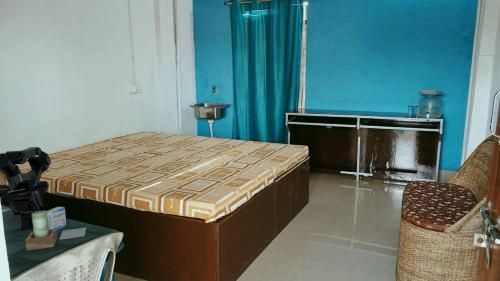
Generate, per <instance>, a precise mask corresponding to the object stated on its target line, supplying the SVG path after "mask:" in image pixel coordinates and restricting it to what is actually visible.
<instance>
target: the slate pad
mask: <svg viewBox="0 0 500 281" xmlns="http://www.w3.org/2000/svg"><path fill="white" fill-rule="evenodd" d="M86 231H87V227H81V228H80V227H79V228H72V229H65V230H62V232H61V234H60V235H59V236H60V237H59V240H66V239H73V238H74V239H75V238H80V237H85V235H86V233H87V232H86Z"/></svg>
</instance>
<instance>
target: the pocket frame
mask: <svg viewBox="0 0 500 281" xmlns="http://www.w3.org/2000/svg"><path fill="white" fill-rule="evenodd" d="M57 240H58V231H57V229H50V230H49V236H45V237H37V238H34V231H31V232H30V233H29V234H28V235H27V237H26V239H25V240H24V241H25V248H26V251H34V250H40V249H47V248H54V246H55V244H56V242H57Z"/></svg>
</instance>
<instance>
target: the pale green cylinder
mask: <svg viewBox="0 0 500 281" xmlns="http://www.w3.org/2000/svg"><path fill="white" fill-rule="evenodd" d="M47 211H48V210H39V211H37V212H34V213H32V221H33V228H32V230H33V231H32V232H34V238H37V237H45V236H49V227H48V218H47Z"/></svg>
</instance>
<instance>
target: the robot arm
mask: <svg viewBox="0 0 500 281" xmlns="http://www.w3.org/2000/svg"><path fill="white" fill-rule="evenodd" d="M27 162H28V165H29V167H30V168H31V169H30V171H28V172H22V171H21V169H20V167H19V165H24V164H26V163H27ZM51 164H52V160H51V158H50V155H49V154H48V153H47V152H45V151H43V150H42V149H41V147H38V146H34V147H33V146H32V147H31V146H30V147H27V148H25V149H22V150H7V151H6V152H3V153H2V152H0V174H2V175H4V177H5V178H4V179H5V180H6V182H7V187H8V188H10V190H9V189H8V188H1V189H0V198H1V205H0V206H4V207H6V208H8V209H9V210H11V211H12V213H13V216H19V225H20V226H19V227H18V229H17V230H18V231H22V230H29V229H30V230H31V229H33V221H32V213H34V212H37V211H40V206H41V207H44V195H45V193H47V191H48V189H49V186H50V185H49V182H48V181H47V180H42V181H41V178H42V175H43V173H45V172H46V171H48V169H49V167H50V165H51ZM13 197H14V198H13ZM36 200H37V201H36ZM37 202H38V203H37Z"/></svg>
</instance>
